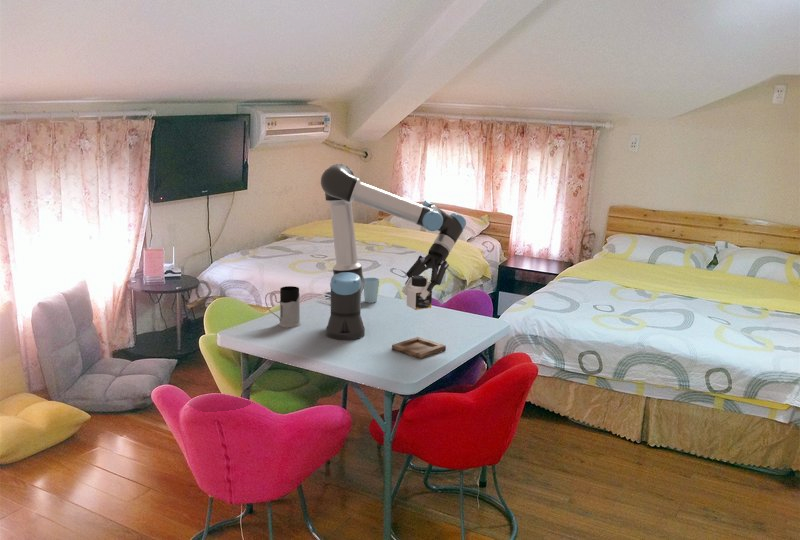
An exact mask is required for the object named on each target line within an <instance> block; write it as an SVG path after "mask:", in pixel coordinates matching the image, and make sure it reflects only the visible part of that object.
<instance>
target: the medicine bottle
mask: <svg viewBox="0 0 800 540" xmlns="http://www.w3.org/2000/svg"><path fill="white" fill-rule="evenodd" d="M428 282H429V280H428V277H426V276H425V275H419V276H414V277H413V276H412V287H411V288H407V295H406V306H407V307H409V308H411V309H413V310H415V311H420V310H425V309H426V310H427V309H431V308H432V301H433V299H432V298H433V290H432V291H431V292H429V293H428V295H427V297H426V298H425V300H424V299H422V297H421V296H420V295H421V293H422V291H423V290H424V288H425V286H426V285H427V283H428Z"/></svg>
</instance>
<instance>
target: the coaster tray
mask: <svg viewBox="0 0 800 540" xmlns="http://www.w3.org/2000/svg"><path fill="white" fill-rule="evenodd" d="M446 349H447V345H445V344H443V343H439V342H435V341H432V340H430V339H429V340H428V339H425V338H423V337H419V336H415V337H412V338H409V339H407V340H403V341H400V342H396V343H393V344H392V345H391V350H393V351H396V352H398V353H402V354H404V355H408V356H410V357H413V358H417V359H419V360H422V359H424V358H427V357H431V356H434V355H436V354H439V353H441V351H442V352H445V351H446ZM444 350H445V351H444Z"/></svg>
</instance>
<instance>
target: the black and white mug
mask: <svg viewBox="0 0 800 540" xmlns="http://www.w3.org/2000/svg"><path fill="white" fill-rule="evenodd" d="M279 289H280V290H279V291H280V292H279V295H280V298H279V299H280V300H279V301H278V300H277V295H276V293H275V292H268V293H266V295H265V297H264V300H265V306H266V309H268V311H269V312H270V313H272V315H274V316H275V317H277V319H279V324H278V325H279V326H280V327H281V326H282V327H283V328H288V327H291V328H298V327H300V326H301V325H302V324H301V321H300V320H301V318H300V317H301V313H300V311H301V310H300V308H301V307H300V306H301V305H300V303H301V302H300V299H301V298H300V296H301V295H300V287H299V286H293V285H292V286H291V285H289V286H288V285H287V286H286V285H285V286H281V287H280V288H279ZM270 294H272V295H274V297H275V299H274V300H275V302H276V303H277V304H279V315H277V314H275V312H273V311H272V310H271V309H270V308H269V306H268V303H267V296H268V295H270Z"/></svg>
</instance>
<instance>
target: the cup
mask: <svg viewBox="0 0 800 540" xmlns="http://www.w3.org/2000/svg"><path fill="white" fill-rule="evenodd" d="M364 281H365V284H364V289H363V296H364V297H363V298H364V302H365V303H367V302H369V303H370V304H372V303H373V304H374V302H375V303H377V301H378V296H379V295H378V294H379V286H380V278H377V277H364ZM369 303H368V304H369Z"/></svg>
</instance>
